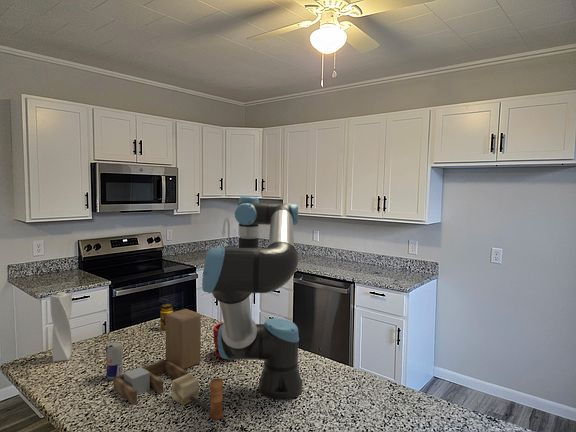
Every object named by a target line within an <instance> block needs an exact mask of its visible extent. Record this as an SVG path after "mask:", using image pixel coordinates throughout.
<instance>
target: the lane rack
mask: <svg viewBox="0 0 576 432" xmlns="http://www.w3.org/2000/svg"><path fill="white" fill-rule="evenodd" d="M141 367H142V366H141ZM142 368H143V369H145V370H146V371H148V372H149V373H150V389H153V390H154V391H155V392H156V393H158V394H160V395H161V394H164V380H163V379H162V378H160V377H158V376H157V374H158V375H161V374H162V373H166V372H167V373H166V374H168V375H169V374H170V375H169V376H171V375H172V376H171V377H173V378H174V379H177V378H180V377H182V376H184V375H187V374H188V371H186V369H182V368H180V367H178V366H177V365H175V364H173V363H172V362H170V361H168V360H167V359H166V358H165V359H163V360H161V361H158V362H154V363H152V364H151V363H150V364H148V365H146V366H143V367H142ZM113 390H114V391H116V392H117V393H118V394H119V395H121V397H123V398H124V399H125V400H127V401H128V403H130V404H131V405H132V406H133V405H137V403H138V399H137V398H138V397H137V396H138V394H137V391H136V390H134V389H133V388H132V387H131V386H129V385H128V384H127V383H125V382H124V373H123V374H122V375H119V376H116V377H114V380H113Z"/></svg>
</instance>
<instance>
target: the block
mask: <svg viewBox="0 0 576 432" xmlns="http://www.w3.org/2000/svg"><path fill="white" fill-rule="evenodd" d="M123 374H124V382H125V383H127V384H128V385H129V386H131V387H132V388H133V389H134V390H136V391H137V395H139V394H142V393H145V392H147V391H150V390H151V387H150V373H149V372H148V371H146V370H145V369H143V368H142V366H140V367H137V368H134V369H131V370H128V371H126V372H123Z"/></svg>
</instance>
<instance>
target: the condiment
mask: <svg viewBox="0 0 576 432" xmlns="http://www.w3.org/2000/svg"><path fill="white" fill-rule="evenodd" d="M172 312H174V310H173V304H172V303H163V304H162V305H161V306H160V311H159V314H160V315H159V316H160V318H159V319H160V320H159V321H160V322H159V324H160V325H159V326H157V327H156V328H157V330H159V332H161V333H166V314H168V313H172Z"/></svg>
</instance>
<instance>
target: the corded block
mask: <svg viewBox="0 0 576 432" xmlns="http://www.w3.org/2000/svg"><path fill="white" fill-rule="evenodd" d="M199 382H200V380H199V379H197V378H196V377H194V376H192V375H190V374H188V373H187V375H184V376H182V377H180V378H177V379H176V378H174V379H173V380H172V381H171V399H172V400H173V401H175V402H176V403H179V404H180V405H182V406H185V405H187V404H189V403H191V402H194V403H196V404H197V405H199V406H201V407H202V408H203V409H206V410H207V411H209V412H210V413H209V414H210V419H211V420H213V421H220V420H221V419H223V417H224V416H223V413H224V409H223V408H224V405H223V404H224V403H223V401H224V398H223V397H224V396H223V395H224V380H223V379H222V378H217V377H216V378H215V377H214V378H212V379H211V380H210V406H209V405H207V403H205V402H203V401H201V400H200V399H199V394H200V391H199V390H200V389H199V387H200V384H199Z"/></svg>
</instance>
